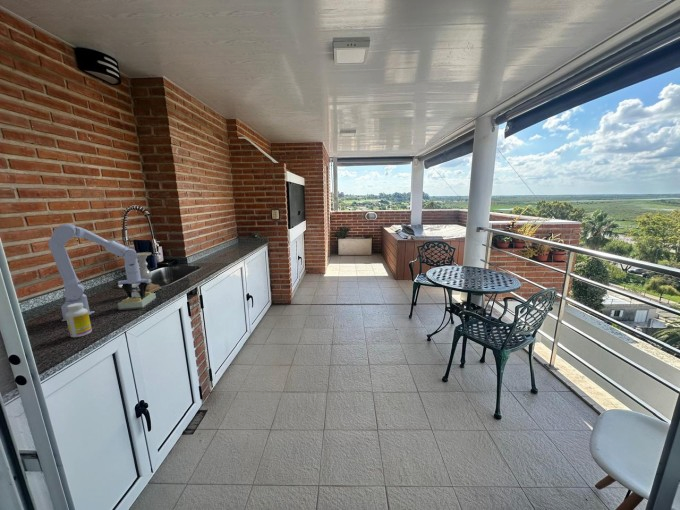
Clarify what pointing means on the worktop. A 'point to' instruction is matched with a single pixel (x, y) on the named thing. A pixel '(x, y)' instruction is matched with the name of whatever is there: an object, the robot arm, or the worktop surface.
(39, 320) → the worktop surface
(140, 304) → the pale green tray
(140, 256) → the candle holder
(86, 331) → the supplement bottle
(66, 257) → the robot arm
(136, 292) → the spout can
